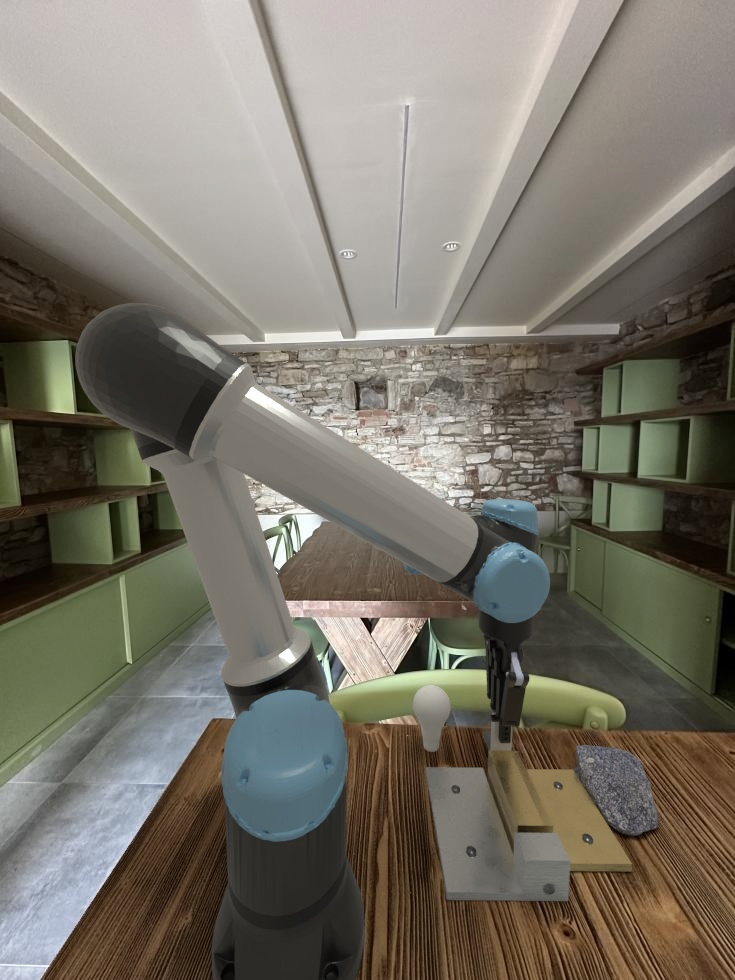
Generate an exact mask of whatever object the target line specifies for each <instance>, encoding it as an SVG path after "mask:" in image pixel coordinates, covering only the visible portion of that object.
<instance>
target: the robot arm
mask: <svg viewBox="0 0 735 980" xmlns="http://www.w3.org/2000/svg"><path fill="white" fill-rule="evenodd" d="M75 348H76V349H75V355H74V356H75V370H76V374H77V378H78V382H79V383H80V386H81V388H82V390H83V392H84V393H85V395H86V396H87V398H88V400H90V402H91V404H93V406H94V407H95V408H96V409H98V411H100V412H101V414H103V415H104V416H106V417H107V418H109V419H110V420H111V421H113V422H115V423H116V424H119V425H120V426H122V427H125V428H128V429H129V430H130V431H131V432H130V433H131V435H132V436H133V440H134V442H135V446H136V448H137V451H138V453H139V456H140V459H141V461H142V463H143V464H144V465H146V466H148V467H150V468H153V469H154V470H157V471H158V472H159V473H161V474H162V475H163V479H164V481H165V484H166V487H167V490H168V492H169V495H170V497H171V500H172V503H173V506H174V509H175V512H176V514H177V516H178V519H179V523H180V525H181V527H182V530H183V533H184V536H185V539H186V542H187V544H188V547H189V549H190V553H191V555H192V559H193V561H194V563H195V566H196V570H197V573H198V574H199V577H200V580H201V583H202V586H203V588H204V591H205V594H206V597H207V599H208V602H209V605H210V608H211V611H212V614H213V616H214V619H215V621H216V625H217V627H218V630H219V633H220V635H221V638H222V642H223V643H224V647H225V649H226V652H227V655H228V656H227V659H226V660H225V662H224V664H223V666H222V668H221V678H222V681H223V684H224V686H225V689H226V691H227V694H228V697H229V701H230V702H231V706H232V708H233V711H234V715H235V720H234V721H233V723H232V726H231V727H230V729H229V731H228V734H227V735H226V736H227V737H226V739H225V744H224V748H223V755H222V762H221V770H220V771H221V773H220V775H221V776H220V778H221V781H220V782H221V785H222V792H223V798H224V813H225V814H224V817H225V819H224V820H225V837H226V838H225V839H226V840H225V841H226V842H225V843H226V844H225V845H226V860H227V861H226V862H227V867H226V868H227V885H226V888H225V891H224V894H223V897H222V900H221V904H220V906H219V910H218V913H217V917H216V920H215V925H214V928H213V933H212V934H213V935H212V940H211V941H212V943H211V970H212V971H211V972H212V973H211V974H212V980H356V978H357V975H358V973H359V969H360V966H361V962H362V958H363V952H364V947H365V946H364V945H365V911H364V902H363V898H362V894H361V889H360V886H359V884H358V882H357V881H358V880H357V879H356V876H355V874H354V871H353V868H352V865H351V863H350V861H349V859H348V856H347V776H348V775H347V773H348V761H349V756H348V754H349V753H348V745H347V739H346V735H345V729H344V725H343V722H342V720H341V717H340V716H339V713H338V712H337V710H336V709H335V708H334V706H332V704H331V703H330V702H331V701H330V697H329V693H328V688H327V685H328V682H327V677H326V672H325V669H324V666H323V664H322V663H321V662H320V660H319V657H318V656H317V655H316V651H315V648H314V646H313V642H312V638H311V636H310V634H309V633H308V632H307V631H306V630H304V629H302V628H300V627H296V626H295V625H294V622H293V619H292V616H291V613H290V610H289V607H288V604H287V603H288V602H287V601H286V598H285V595H284V592H283V588H282V586H281V583H280V580H279V576H278V574H277V570H276V568H275V563H274V561H273V558H272V555H271V552H270V549H269V545H268V543H267V540H266V538H265V534H264V530H263V528H262V527H263V526H262V525H261V522H260V519H259V515H258V513H257V510H256V507H255V504H254V501H253V497H252V493H251V491H250V489H249V488H250V487H249V484H248V482H247V479H246V476H247V477H249V478H251V479H253V480H255V481H256V482H258V483H260V484H262V485H263V486H265V487H267V488H269V489H271V491H275V493H278V494H279V495H281V496H283V497H285V498H287V499H289V500H290V501H292V502H293V503H296V504H298V505H299V506H302V508H304V509H306V510H308V511H311V512H312V513H314V514H315V515H317V516H319V517H321V518H323V519H324V520H326V521H328V522H330V523H331V524H333V525H335V526H337V527H339V528H341V529H343V530H345V531H346V532H348V533H349V534H352V535H353V536H355V537H357V538H358V539H361V540H362V541H363V542H366V543H368V544H370V545H371V546H373V547H375V548H376V549H379V550H380V551H382V552H384V553H385V554H388V555H389V556H391V557H393V558H394V559H396V560H398V561H399V562H401V563H402V565H403V568H404V569H405V571H406V572H407V573H409V574H410V575H424V576H427V577H429V578H431V579H432V580H434V581H436V582H437V583H439V584H440V585H442V586H443V587H445V588H447V589H449V590H451V592H454V593H456V594H457V595H460V596H461V597H463V598H465V599H467V600H468V601H470V602H472V603H473V604H475V605H476V606H477V608H478V627H479V630H480V631H481V633H483V639H484V646H485V647H484V649H485V666H486V667H485V669H486V670H485V671H486V675H485V676H486V697H487V699H488V700H490V703H489V704H490V705H489V707H490V709H491V711H492V712H491V714H490V720H491V722H490V733H491V745H490V750H501V751H513V750H512V749H513V748H512V747H513V727H520V726H521V725H520V724H521V718H522V713H523V708H524V700H525V695H526V694H525V693H526V689H527V686H528V684H529V682H530V678H531V677H530V674H529V672H527V671H522V669H521V666H522V665H521V664H522V662H523V657H524V656H523V654H524V653H523V649H522V646H521V645H522V643H524V642H525V641H527V640H529V639H531V638H532V636H533V634H534V620H535V619H534V616H535V615H536V614H537V613H538V612H539V611H541V608H542V607H543V605H544V604H545V601H546V600H547V598H548V595H549V592H550V587H551V577H550V571H549V570H548V567H547V565H546V563H545V561H544V560H543V558H541V557H540V556H539V555H538V554H537V552H538V551H537V550H538V537H539V528H538V527H539V526H538V525H539V518H538V509H537V507H536V506H535V504H533V503H532V502H530V501H525V500H520V499H511V498H510V499H509V498H505V499H503V498H502V499H501V498H496V499H488V500H486V501H484V502H483V504H482V507H481V511H480V515H479V514H478V515H472V516H469V515H467V514H466V513H464V512H462V511H461V510H459V509H458V508H457V507H454V506H453V505H452V504H449V502H447V501H445V500H443V499H442V498H441V497H439V496H437V495H436V494H435V493H432V492H431V491H429V490H428V489H426V488H424V487H423V486H421V485H420V484H418V483H416V482H415V481H413V480H411V479H410V478H408V477H407V476H406V475H404V474H403V473H401V472H398V471H397V470H396V469H394V468H392V467H391V466H389V465H388V464H386V463H384V461H381V460H380V459H378V458H376V457H375V456H373V455H372V454H370V453H368V452H367V451H365V450H363V449H362V448H361V447H359V446H357V445H356V444H354V443H353V442H351V441H349V440H348V439H346V438H345V437H343V436H342V435H340V434H338V433H337V432H335V431H334V430H332V429H330V428H329V427H327V426H326V425H324V424H322V423H320V422H319V421H318V420H316V419H314V418H313V417H311V416H310V415H308V414H307V413H305V412H303V411H301V410H300V409H298V408H296V407H295V406H294V405H292V404H291V403H289V402H287V401H285V400H284V399H282V398H281V397H279V396H277V395H276V394H274V393H273V392H271V391H270V390H268V389H266V388H265V387H263V386H262V385H260V384H258V383H257V381H256V379H255V378H256V377H255V375H254V372H253V369H252V366H251V365H250V364H249V363H247V362H246V361H244V360H242V359H241V358H239V357H238V356H236V355H234V353H232V352H231V351H229V350H227V349H226V348H224V347H222V346H221V345H220V344H219V343H217V342H216V341H214V340H213V339H212V338H210V337H209V336H207V334H205V333H204V332H202V331H201V330H200V329H199V328H198V327H197V326H195V325H194V324H193V323H192V322H190V321H189V320H187V319H186V318H185V317H183V316H182V315H180V314H178V313H176V311H175V312H174V311H172V310H171V309H169V308H167V307H163V306H160V305H158V304H157V305H156V304H153V303H147V302H128V303H123V304H118V305H114V306H112V307H109V308H107V309H105V310H102V311H101V312H100V313H99V314H97V315H96V316H95V317H94V318H92V319H91V320H90V321H89V322H88V323H87V324H86V326H85V327H84V328H83V330H82V331H81V334H80V337H79V339H78V342H77V343H76V347H75ZM245 475H246V476H245Z"/></svg>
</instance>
